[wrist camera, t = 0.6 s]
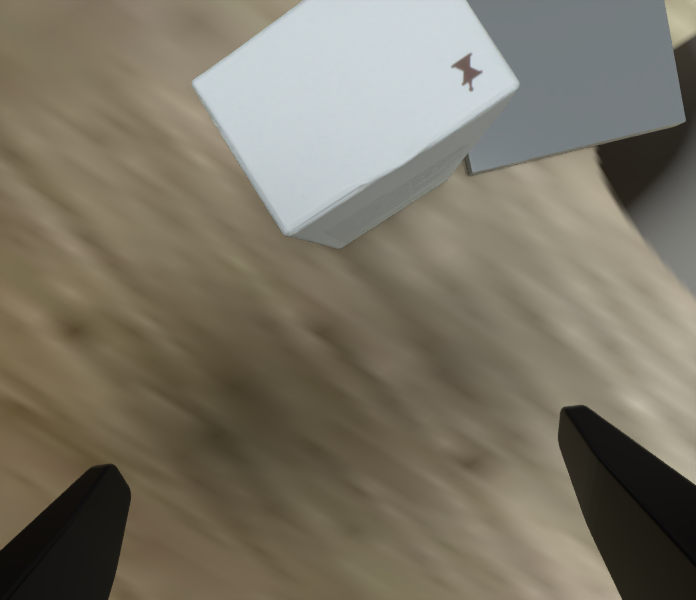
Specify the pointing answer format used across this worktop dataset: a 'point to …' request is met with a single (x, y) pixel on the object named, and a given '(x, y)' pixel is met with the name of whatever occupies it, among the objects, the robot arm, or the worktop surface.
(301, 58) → the skincare box
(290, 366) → the worktop surface
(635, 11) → the plate
